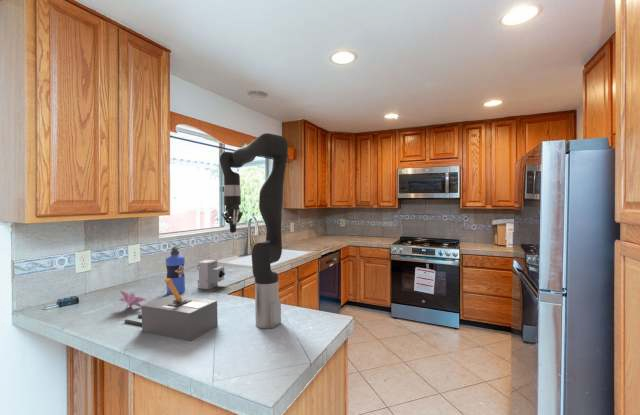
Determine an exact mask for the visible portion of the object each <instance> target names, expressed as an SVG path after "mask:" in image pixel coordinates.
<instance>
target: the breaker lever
mask: <svg viewBox="0 0 640 415" xmlns="http://www.w3.org/2000/svg"><path fill="white" fill-rule="evenodd" d="M164 282H165V284H166V286H167V285H168V287H169V288H170V290H171V292H172V293H173V295H174V297H175V298H176V300H177V302H180V301H181V300H183V299H182V298H181V296H182V295H181V294H179V293H178V291H177V289H176V287H175V286H174V284H173V281H172V280H171V278H167V277H166V278H165V279H164Z"/></svg>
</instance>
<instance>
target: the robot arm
mask: <svg viewBox="0 0 640 415" xmlns="http://www.w3.org/2000/svg"><path fill="white" fill-rule="evenodd" d="M288 146H289V145H288V141H287V138H286V137H285V136H282V135H278V134H273V133H268V132H267V133H262V134H261V135H259V136H257V137H256V138H255V139H254V140H252V141H251V142H250V143H248V144H247V145H245V146H242V147H240V148H237V149H235V150H234V152H233V151H223V152H221V153H220V156H219V164H220V168H221V171H222V174H223V182H224V183H223V185H224V188H223V205H224V206H225V209H224V210H225V211H224V212H222V213H221V215H222V218H223V219H224V221H225V223H226V224H228V225H229V233H236V232H237V225H238V223H240V221H241V219H242V217H243V214H244V212H243V211H241V210H240V206H241V204H242V192H241V191H242V190H241V176H240V173H238V172H235V171H233V170H232V168H236V169H238V168H242V167H243V166H244V165H246V164H249V163H251V162H253V161H254V160H255V159H256V157H264V158H268V159H272V164H271V169H270V172H269V175H268V176H267V177H266V180H265V181H264V182H263V184H262V186H261V188H260V190H259V200H258V208H259V213H260V215H261V217H262V219H263V222H264V224H265V230H266V234H265V235H266V236H265V240H263V241H259V242H256V243H255V244H254V245H252V246H253V247H252V250H251V264H252V265H251V266H252V275H253V278H254V297H255V298H254V300H255V302H254V304H255V308H254V310H255V326H256V327H257V328H259V329H274V328H276V327H277V326H279V324H281V323H282V300H281V298H280V297H279V296H280V295H279V274H278V273H277V272H275V271H272V267H271V264H274V263H276V262H278V261H279V260H280V259H281V257H282V252H283V243H282V219H283V218H282V216H283V215H282V213H283V203H284V182H285V181H284V180H285V170H286V164H287V157H288V152H289V150H288V149H289V147H288Z"/></svg>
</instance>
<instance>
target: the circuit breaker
mask: <svg viewBox="0 0 640 415" xmlns="http://www.w3.org/2000/svg"><path fill="white" fill-rule="evenodd" d="M196 266H197V267H196V268H197V270H198V279H197V289H201V290H202V289H203V290H204V289H205V290H211V289H214V288H215V287H217V286H219V282H222V281H224V280H225V275H226V272H225V267H224V266H218V260H217V259H203V260H200V261H198V262H197V265H196Z"/></svg>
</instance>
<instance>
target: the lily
mask: <svg viewBox="0 0 640 415" xmlns="http://www.w3.org/2000/svg"><path fill="white" fill-rule="evenodd" d="M118 292H119V293H120V295H121V296H122V297H121V298H119V299H117V300H118V301H121V302H125V303H126V304H127V305H126V308H125V310H124V314H126V312H127V308H128V307H129V308H132V307H133V306H136V307H139V308H141V309H142V305H141V303H142V302H145V301H147V299H146V298H144V297H142V296H136V295H135V292H130V293H127V292H126V291H124V290H118Z"/></svg>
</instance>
